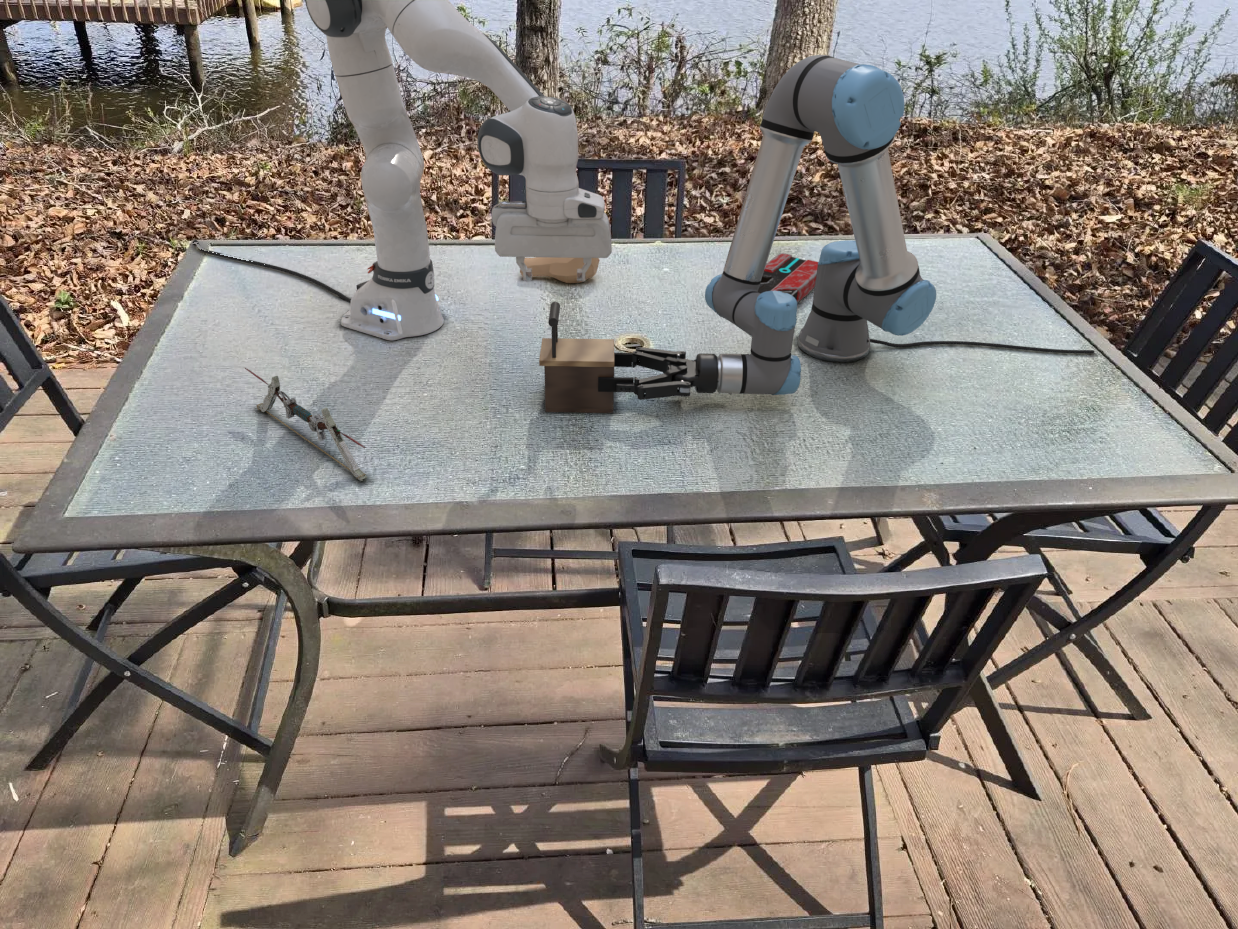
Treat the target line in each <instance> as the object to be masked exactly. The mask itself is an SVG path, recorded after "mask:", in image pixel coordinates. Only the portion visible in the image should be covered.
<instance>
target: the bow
mask: <svg viewBox="0 0 1238 929" xmlns="http://www.w3.org/2000/svg"><path fill="white" fill-rule="evenodd" d="M244 369H245V371H247V372H249V373H250V374H252V375H253V376H254V377H255V378H257V379H258V380H260V381H261V382H262V383H264V384H266V385H267V394H266V395H265V397H263V401H262V402H261V403H259V404H256V408H257V410H258V411H260V412H261V413H267V414H268V415H269V416H271V417H272V418H274V419H275V420H277V422H280V423H281V424H283V425H284V426H285V427H287V428H288V429H290V430H291V431H293V432H294V433H295V434H296V435H298V436H299V437H301V438H303V439H304V440H305V441H307V442H308V443H310V444H311V445H312V446H314V447H315V448H317V449H318V450H320V451H321V452H322V453H324V454H325V455H327V456H328V457H329V458H330V459H332V460H334V461H335V462H336V463H338V464H339V465H341V466H343V467H344V468H345V469H346V470H348V471H349V472H351V473H352V475H353V476H354V477H355V478H356V480H358V481H360V482H363V481H364V479H368V476H367V475H366V473H365V472H363V470H362V469H361V468H360V467H359V466H358V464H357V462H356V460H355V458H354V455H353V454H352V452H351V450H350V449H349V447H348V445H347V444H346V442H345V439H344V438H343V437H345V438H346V439H349V440H350V441H351V442H353V443H355V444H356V445H357V446H359V447H362V448H363V449H366V446H365V445H363V443H361V442H360V441H358V440H356V439H354V438H353V437H351V436H349V435H348V434H345V433H343V432H341V429H340V428H339V427H338V425H337V423H336V422H335V420H334V418H333V416H332V415H331V412H330V410H329V408H328V407H324V408H321V409H320V410H321V414H320V413H318V414H316V415H312V413H311V412H310V411H309V410H308V409H306V408H304V407H303V406H302V405H299V404H298V403H297V399H296V397H291V398H290V397H289V396H288V394H287V393H285V392H284V391H283V390H281V384H280V383H281V382H280V377H279V375H274V376H271V381H270V383H268V382H267V381H265V380H264V379H263V378H262V377H260V376H259V375H258V374H256V373H254V372H253V371H252V370H251V369H248V368H247V367H244ZM277 398H278V399H279V401H280V402H281V403H282V404H283V408H284V409H285V418H286V419H287V420H290V419H292V418H295V416H296V417H297V418H299V419H301V420H303V421H304V422H305V423H308V427H309V429H310V430H311V431H312V432H313V433H316V435H317V436H316V437H317V439H318V441H320V442H322V441H325V440H327V435H326V432H325V430H328V432H329V434H330V436H331V437H332V440H333V442H334V444H335V445H336V448H337V450H338V451H339V453H340V455H341V457H342V458H343V461H344V462H345V464H346V465H344V464H343V463H342V462H341V461H340V460H338V459H337V458H335V457H334V456H332V455H330V454H329V453H328V452H326V451H325V450H323V449H322V448H321V447H319V446H317V445H316V444H314V443H313V442H311V441H310V440H309V439H307V438H306V437H305V436H303V435H302V434H301V433H299V432H297V431H296V430H294V429H293V428H292V427H290V426H289V425H288V424H286V423H285V422H283V420H280V419H278V418H277V417H276V416H275V415H273V414H272V413H270V412H269V411H270V410H271V409H272V408H273V406H274V404H275V402H276V400H277Z"/></svg>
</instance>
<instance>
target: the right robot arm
mask: <svg viewBox="0 0 1238 929" xmlns="http://www.w3.org/2000/svg"><path fill="white" fill-rule="evenodd" d="M904 114H905V96H904V91H903V89H902V86H901V84H900V83H899V81H898V80H897V79H896V77H895V76H893V75H892V74H891V73H889V72H887V71H886V70H883V69H881V68H879V67H877V66H875V65H872V64H865V63H857V62H853V61H849V60H846V59H841V58H837V57H834V56H831V55H827V54H813V55H809V56H807V57H805V58H802V59H801V60H799V61H797V62H796V63H795V64H794V65H792V66H791V67H790V68H789V69H788V70H787V71H786V72H785V73H784V74H783V76H781V78H780V80H778V83H777V84H776V85H775V87H774V89H773V91H772V93H771V95H770V97H769V99H768V101H767V103H766V106H765V109H764V111H763V114H762V118H761V121H760V125H759V129H760V131H761V134H762V138H761V141H760V144H759V148H758V152H757V155H756V158H755V161H754V165H753V167H752V170H751V171H752V172H751V175H750V178H749V182H748V186H747V189H746V191H745V196H744V198H743V201H742V206H741V209H740V213H739V216H738V219H737V222H736V226H735V229H734V233H733V235H732V240H731V243H730V246H729V250H728V253H727V256H726V259H725V263H724V266H723V271H722V273H721V274H718V275H715V276H714V277H713V278H711V281H710V282H709V283H708V284H707V286H706V288H705V291H704V299H705V303H706V305H707V306H708V307H709V309H711V310H712V311H713V312H714V313H715V314H716V315H718V316H719V318H722V319H724V320H727V322H730V323H731V324H733V325H734V326H736V327H737V328H739V329H740V330H741V331H743V332H745V333H746V334H747V335H749V336H750V337H751V340H750V341H751V343H750V353H719V354H718V356H717V354H716V353H704V352H703V353H701V352H699V353H698V354H696V356H695V359H694V360H693V359H688V358H686V356H687V352H686V351H685V350H676V351H675V350H674V351H673V350H666V349H658V348H650V347H643V346H636V347H635V350H633V351H632V352H614V368H633V369H635V368H636V367H637V366H638V367H641V368H645V369H649V370H652V371H656V372H660V374H656V375H653V376H648V377H644V378H640V379H639V377H637V376H634V377H629V376H628V377H625V376H624V377H623V376H614V377H598V392H614V393H633V394H634V395H635V396H637V399H638V400H640V401H643V400H653V399H662V398H669V397H671V398H672V397H690V396H691V390H692V388H694V390H695V393H697V394H715V393H716V392H718V393H719V394H727V395H733V394H739V395H742V394H743V395H770V396H781V395H783V396H784V395H792V394H795V393H796V392H797V391H798V389H799V387H800V384H801V378H802V377H801V376H802V375H801V373H802V366H801V365H802V364H801V360H800V358H799V356H797V355H795V354H792V348H793V342H794V337H795V336H794V335H795V330H796V325H797V320H798V318H797V313H798V303H797V301H796V299H795V298H794V297H793V296H792V295H790V294H788V293H782V292H781V291H767V292H763V293H761V294H760V293H759V292H758V289H759V286H760V283H761V279H762V276H763V272H764V269H765V266H766V263H768V261H769V256H770V254H771V251H772V248H773V244H774V241H775V238H776V235H777V232H778V230H779V229H778V228H779V226H780V222H781V220H782V216H783V214H784V210H785V207H786V204H787V202H788V198H789V195H790V192H791V189H792V185H793V182H794V179H795V176H796V173H797V170H798V167H799V163H800V160H801V158H802V154H803V151H804V149H805V147H806V146H807V145H810V144H811V143H812V142H813V139H814V135H815V132H816V133H818V134H819V135H820V139H821V142H822V146H823V150H824V155H825V157H826V159H827V160H828V161H829V162H830V163H832V164H835V165H837V169H838V173H839V177H840V182H841V186H842V191H843V194H844V198H845V203H846V207H847V212H848V216H849V220H850V225H851V228H852V233H853V236H854V240H851V239H848V240H847V239H845V240H837V241H832V242H829V243H827V244H826V245H824V246H823V247H822V248H821V251H820V255H819V260H818V261H817V262H818V267H817V275H816V282H815V287H814V288H813V296H812V304H811V310H810V312H809V314H808V317H807V318H806V321H805V323H804V325H803V327H801V329H800V331H799V333H798V339H797V346H798V348H799V349H800V350H801V351H802V352H804V354H807V355H808V356H810V357H813V358H815V359H818V360H822V361H827V362H831V363H832V362H834V363H851V362H855V361H856V362H857V361H860V360H862V359H864V358H865V357H867V356H868V354H869V352H870V347H871V343H872V344H878V345H882V346H887V347H890V348H891V347H892V348H910V347H911V348H913V347H918V346H933V345H934V346H935V345H936V346H937V345H955V346H957V345H960V346H977V347H990V348H1001V349H1010V350H1011V349H1012V350H1021V351H1029V352H1030V351H1032V352H1042V353H1055V354H1080V355H1081V354H1082V355H1083V354H1090V355H1093V354H1095V350H1094V349H1060V348H1058V349H1057V348H1046V347H1045V348H1044V347H1035V346H1022V345H1014V344H1005V343H1004V344H1003V343H994V342H983V341H981V342H980V341H964V340H931V341H930V340H927V341H918V342H909V343H892V342H888V341H884V340H880V339H874V338H870V332H869V326H868V325H869V324H868V322H869V323H871V324H873V325H874V326H876V327H877V328H879V329H880V330H882V331H883V332H886V333H890V334H891V335H894V336H900V337H901V336H902V337H903V336H906V335H910V334H911V333H913V332H914V331H917V329H919V328H920V327H921V326H922V325H923V324H924V323H925V321H926V320H928V318H929V316H930V314H931V312H932V311H933V310H934V307H935V304H936V302H937V301H936V300H937V289H936V287H935V285H934V284H933V283H932V282H931V281H930V280H928V279H924V278H922V276H921V272H920V271H921V270H920V267H919V261H918V259H917V256H916V255H915V254H914V253H913V252H910V251H908V248H907V243H906V242H907V241H906V237H905V232H904V226H903V222H902V221H903V220H902V216H901V210H900V206H899V201H898V195H897V190H896V184H895V179H894V173H893V169H892V163H891V157H890V153H889V148H890V147H891V146H892V144H893V143H894V141H895V138H896V134H897V133H898V131H899V129H900V127H901V125H902V122H901V121H900V120H901V118H902V117H904Z"/></svg>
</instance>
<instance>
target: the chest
mask: <svg viewBox="0 0 1238 929" xmlns="http://www.w3.org/2000/svg"><path fill="white" fill-rule="evenodd" d="M543 368H544V369H543V370H544V372H543V373H544V404H545V413H587V414H589V413H591V414H595V413H596V414H613V413H614V403H615V402H614V401H615V400H614V397H615V396H614V395H615V394H614V393H615V392H598V377H615V367H573V366H543Z"/></svg>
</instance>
